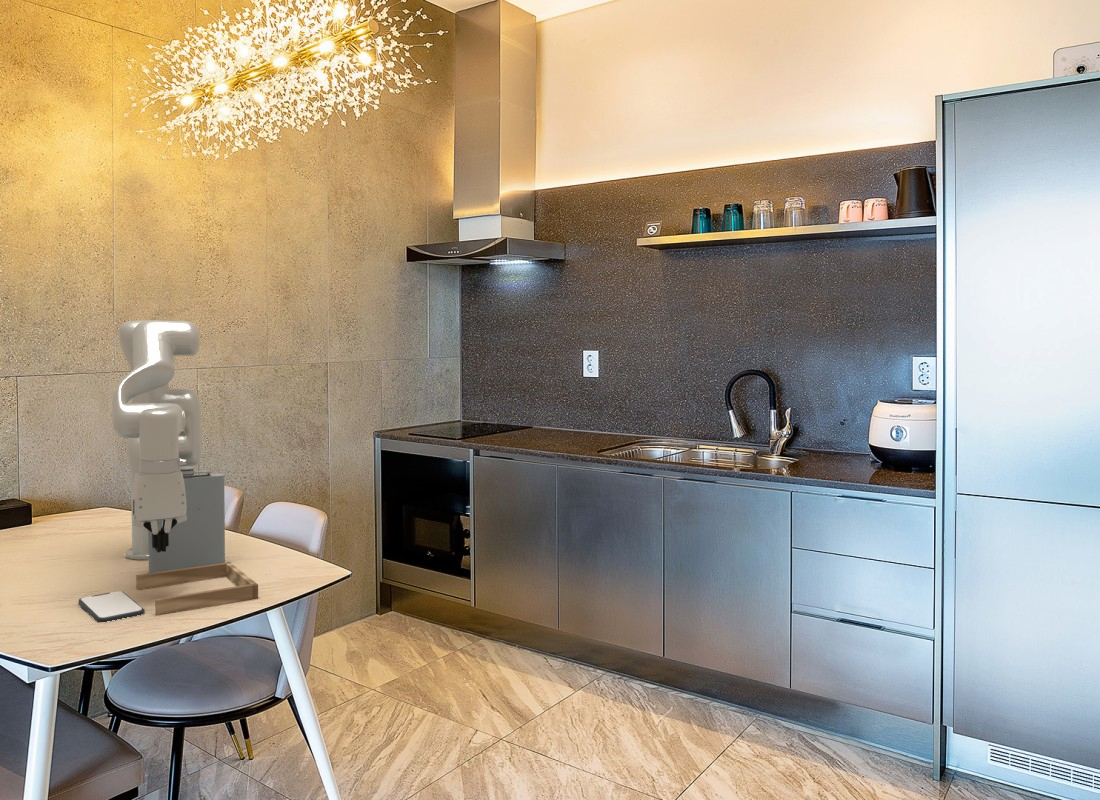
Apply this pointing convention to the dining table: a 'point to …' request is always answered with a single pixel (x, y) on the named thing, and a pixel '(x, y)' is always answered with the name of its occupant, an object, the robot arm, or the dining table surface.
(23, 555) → the dining table surface
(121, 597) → the smartphone
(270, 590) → the dining table surface
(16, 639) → the dining table surface
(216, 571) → the wooden u-shaped frame
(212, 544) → the upright grey panel
